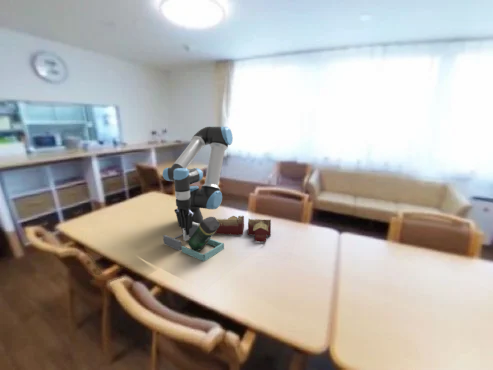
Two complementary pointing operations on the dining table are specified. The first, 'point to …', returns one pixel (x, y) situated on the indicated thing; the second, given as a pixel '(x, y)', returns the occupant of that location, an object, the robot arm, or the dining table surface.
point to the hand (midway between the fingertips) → (186, 239)
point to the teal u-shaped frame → (203, 257)
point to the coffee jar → (203, 233)
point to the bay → (176, 243)
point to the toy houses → (237, 227)
